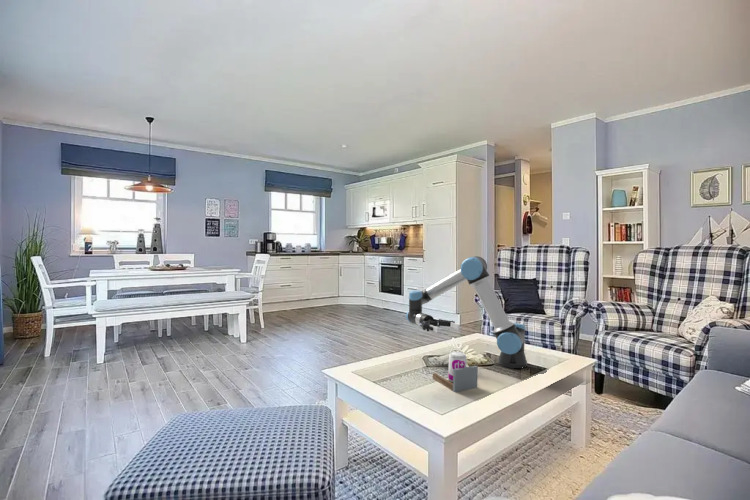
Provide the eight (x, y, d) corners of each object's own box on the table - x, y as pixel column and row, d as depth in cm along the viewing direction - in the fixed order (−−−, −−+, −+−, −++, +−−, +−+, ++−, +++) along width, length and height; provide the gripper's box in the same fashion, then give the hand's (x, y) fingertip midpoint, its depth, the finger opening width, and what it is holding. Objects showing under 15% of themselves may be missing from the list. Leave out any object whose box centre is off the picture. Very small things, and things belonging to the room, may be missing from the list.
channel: (453, 374, 194) (454, 369, 194) (475, 386, 180) (475, 381, 180) (432, 378, 189) (432, 373, 188) (452, 390, 174) (452, 385, 174)
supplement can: (466, 388, 177) (467, 357, 176) (447, 387, 178) (448, 355, 178) (465, 382, 185) (466, 351, 184) (448, 380, 186) (449, 350, 186)
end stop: (475, 386, 180) (475, 365, 179) (477, 387, 179) (477, 366, 178) (452, 390, 174) (453, 369, 174) (454, 392, 173) (455, 370, 172)
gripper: (442, 325, 220) (467, 333, 201) (406, 329, 209) (428, 338, 190) (442, 312, 220) (467, 319, 201) (406, 316, 209) (428, 323, 190)
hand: (448, 328), depth 196 cm, fingers open, 13 cm apart
